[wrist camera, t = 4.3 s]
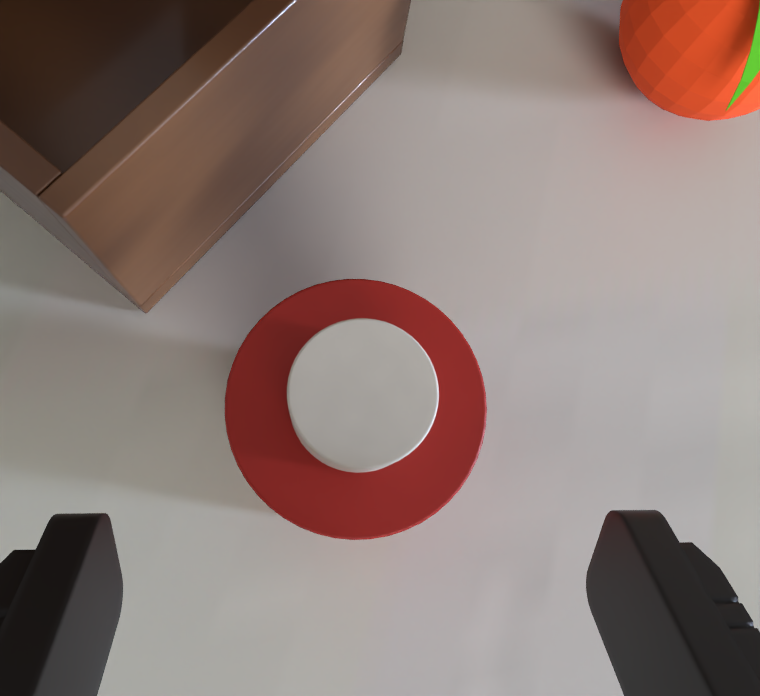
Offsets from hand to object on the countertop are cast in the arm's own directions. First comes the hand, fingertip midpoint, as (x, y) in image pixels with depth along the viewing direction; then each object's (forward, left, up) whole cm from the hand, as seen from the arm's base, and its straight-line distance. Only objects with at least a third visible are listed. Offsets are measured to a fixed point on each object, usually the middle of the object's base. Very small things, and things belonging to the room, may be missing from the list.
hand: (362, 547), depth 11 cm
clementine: (+21, +1, -11) cm, 24 cm away
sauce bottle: (+2, +2, -11) cm, 11 cm away
